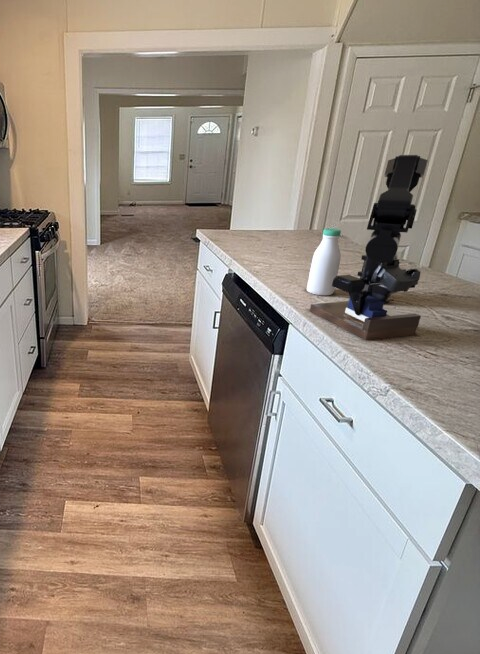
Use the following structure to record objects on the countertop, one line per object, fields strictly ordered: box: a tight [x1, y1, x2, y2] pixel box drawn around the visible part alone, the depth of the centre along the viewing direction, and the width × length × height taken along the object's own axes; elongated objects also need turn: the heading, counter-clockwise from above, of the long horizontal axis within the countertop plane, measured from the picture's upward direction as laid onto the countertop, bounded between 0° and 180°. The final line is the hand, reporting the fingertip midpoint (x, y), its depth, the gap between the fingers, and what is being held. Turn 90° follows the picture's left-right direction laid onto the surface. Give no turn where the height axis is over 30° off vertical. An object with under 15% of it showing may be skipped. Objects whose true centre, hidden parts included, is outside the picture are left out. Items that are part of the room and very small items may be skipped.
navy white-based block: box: [345, 296, 388, 321], centre depth 101 cm, size 8×4×5 cm, turn 10°
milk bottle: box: [306, 228, 342, 296], centre depth 125 cm, size 8×8×20 cm
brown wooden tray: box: [309, 300, 422, 341], centre depth 105 cm, size 20×14×5 cm
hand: (365, 314), depth 101 cm, fingers closed on navy white-based block, 4 cm apart
